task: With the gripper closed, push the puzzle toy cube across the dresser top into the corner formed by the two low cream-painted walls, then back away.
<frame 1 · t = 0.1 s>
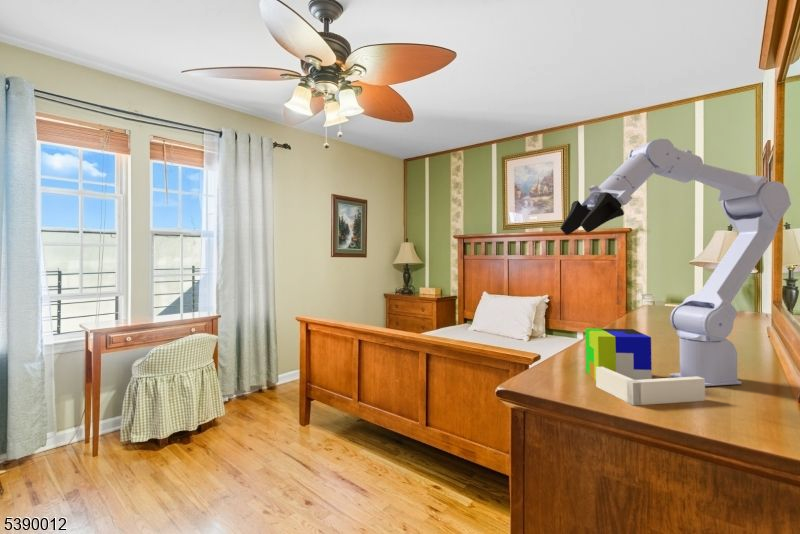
hand: (573, 230, 80), 32 cm above the table, tool tilted 50°, fingers open, 7 cm apart
corner walls: (666, 401, 71), on the table
puzzle toy: (616, 379, 86), on the table
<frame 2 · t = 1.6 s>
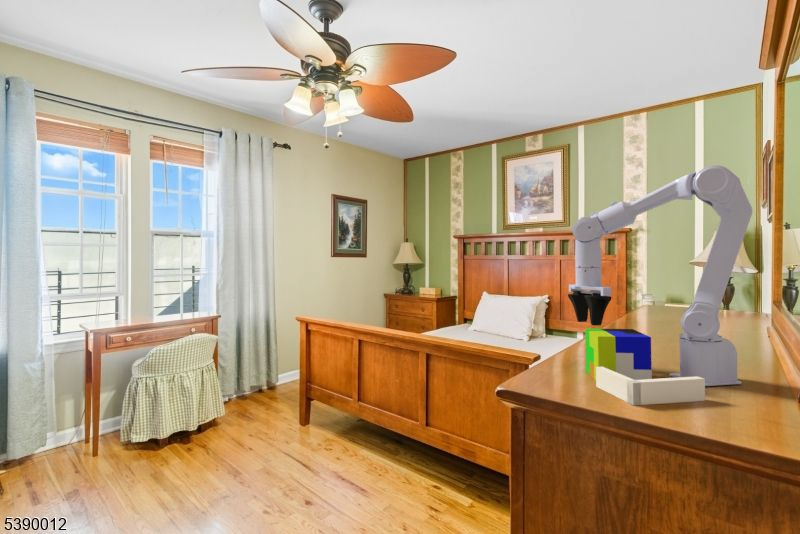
hand: (589, 323, 96), 10 cm above the table, tool pointing down, fingers open, 5 cm apart
nothing on the table moved.
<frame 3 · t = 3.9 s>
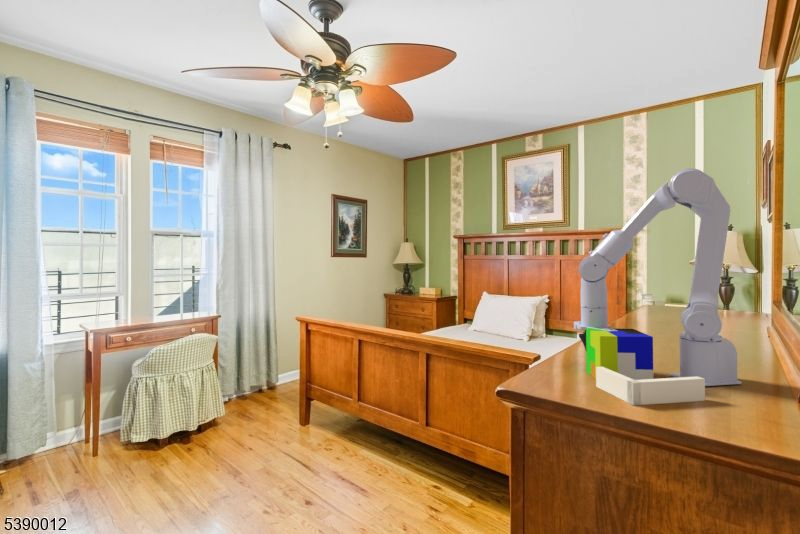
hand: (594, 363, 94), 1 cm above the table, tool pointing down, fingers closed
puzzle toy: (617, 379, 86), on the table, touching gripper
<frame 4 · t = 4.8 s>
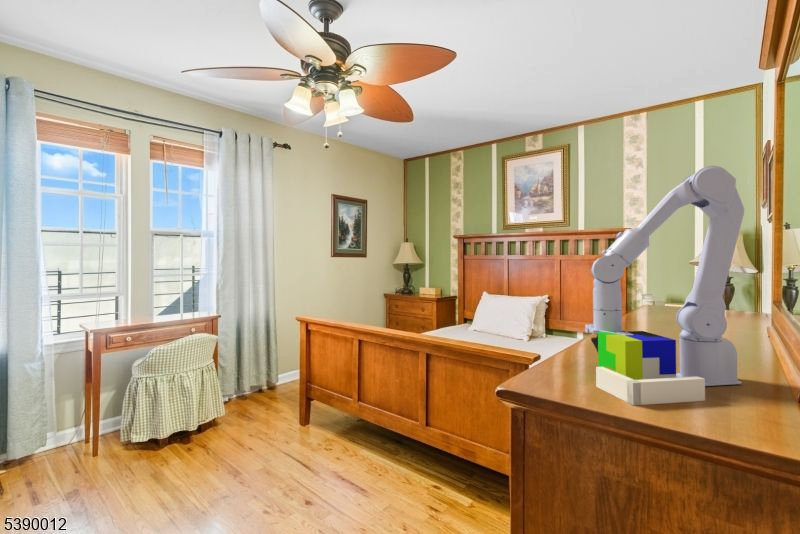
hand: (608, 369, 89), 1 cm above the table, tool pointing down, fingers closed
puzzle toy: (635, 384, 81), on the table, touching gripper
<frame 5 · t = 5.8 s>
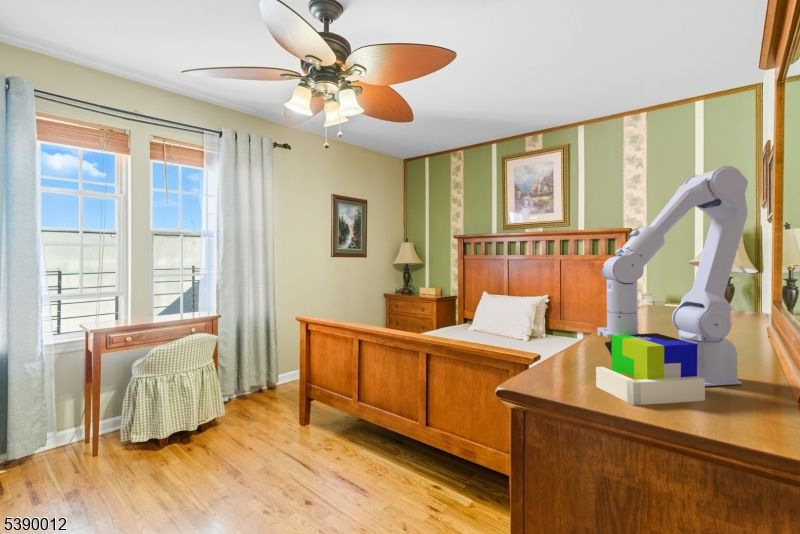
hand: (622, 375, 84), 1 cm above the table, tool pointing down, fingers closed
puzzle toy: (651, 390, 77), on the table, touching corner walls, gripper
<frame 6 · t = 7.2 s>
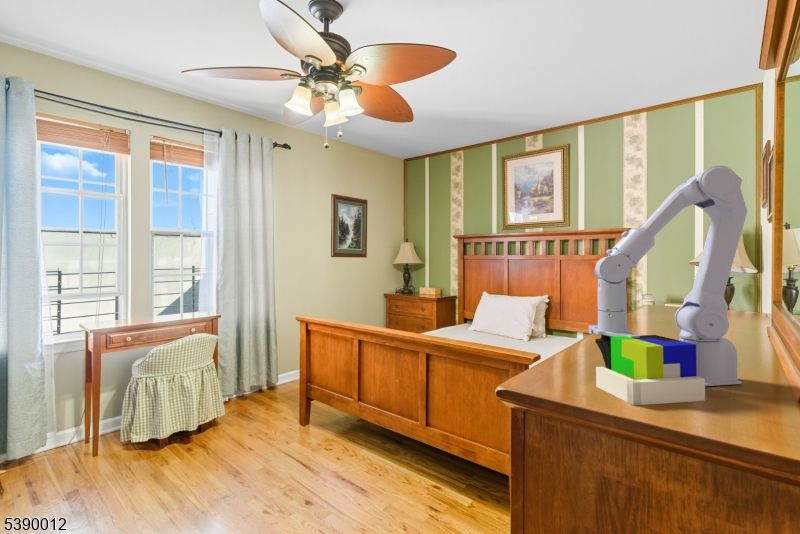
hand: (612, 371, 87), 1 cm above the table, tool pointing down, fingers closed
puzzle toy: (651, 392, 77), on the table
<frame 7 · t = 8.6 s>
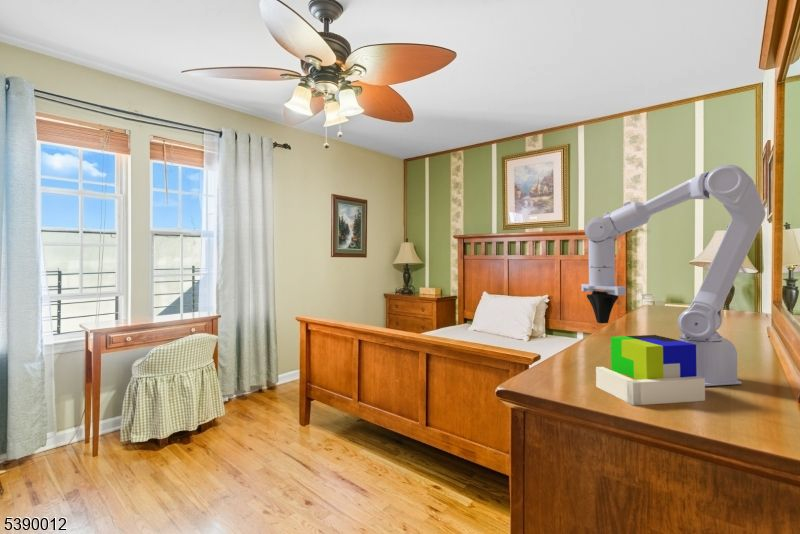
hand: (602, 322, 96), 10 cm above the table, tool pointing down, fingers closed
nothing on the table moved.
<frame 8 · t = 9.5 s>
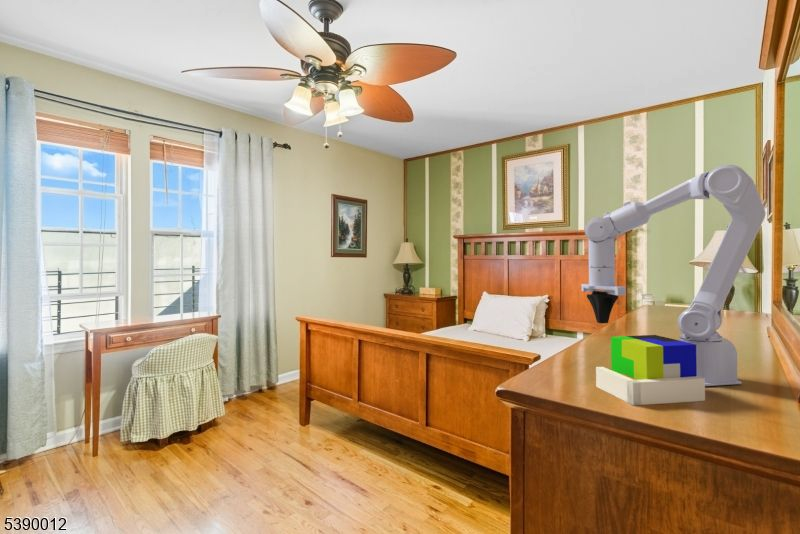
hand: (602, 322, 96), 10 cm above the table, tool pointing down, fingers closed
nothing on the table moved.
at the end: puzzle toy inside the target area (0.9 cm from its centre), on the table; puzzle toy tilted 0°; puzzle toy moved 9.2 cm from its start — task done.
